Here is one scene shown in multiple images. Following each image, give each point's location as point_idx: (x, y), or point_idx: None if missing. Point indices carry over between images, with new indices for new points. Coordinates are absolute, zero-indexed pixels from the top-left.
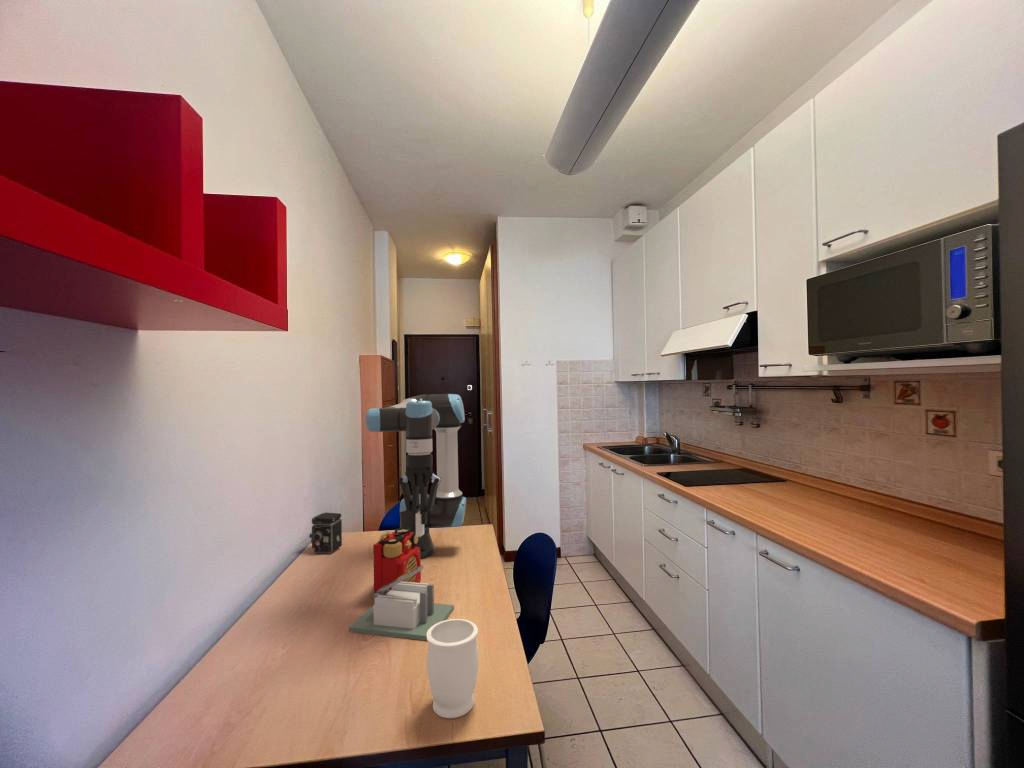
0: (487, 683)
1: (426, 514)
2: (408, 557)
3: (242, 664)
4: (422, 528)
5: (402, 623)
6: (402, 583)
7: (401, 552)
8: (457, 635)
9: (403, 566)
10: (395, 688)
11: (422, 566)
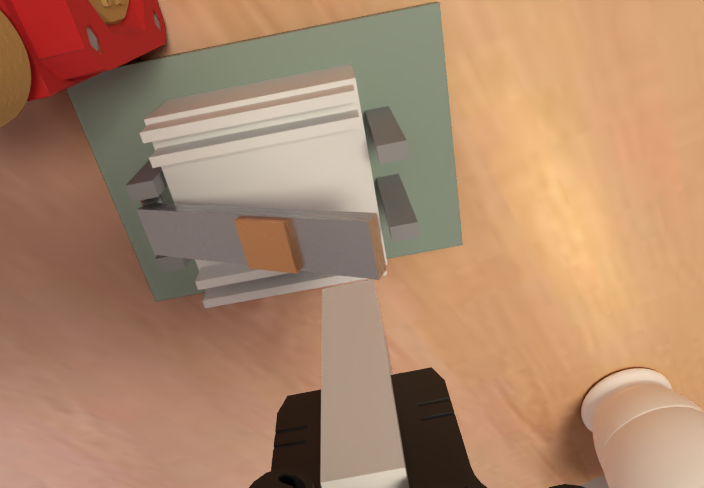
0: (686, 326)
1: (469, 470)
2: None
3: (53, 478)
4: (388, 358)
5: None
6: (195, 131)
7: (13, 32)
8: (697, 464)
9: (111, 66)
10: (472, 410)
11: (373, 225)
